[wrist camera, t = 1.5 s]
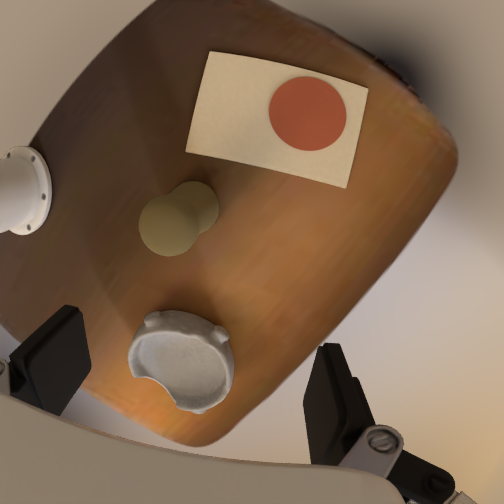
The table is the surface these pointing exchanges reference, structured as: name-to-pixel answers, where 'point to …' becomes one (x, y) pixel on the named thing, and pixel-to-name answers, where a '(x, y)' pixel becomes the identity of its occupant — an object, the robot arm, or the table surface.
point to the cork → (178, 218)
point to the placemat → (277, 117)
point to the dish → (184, 358)
